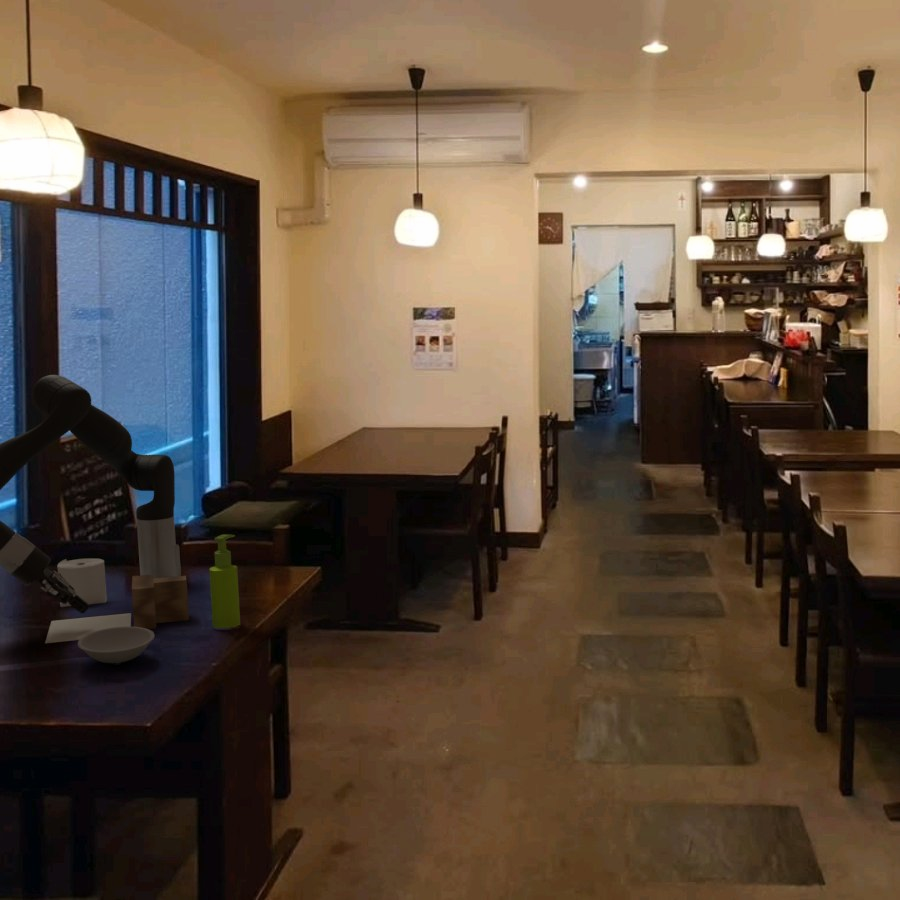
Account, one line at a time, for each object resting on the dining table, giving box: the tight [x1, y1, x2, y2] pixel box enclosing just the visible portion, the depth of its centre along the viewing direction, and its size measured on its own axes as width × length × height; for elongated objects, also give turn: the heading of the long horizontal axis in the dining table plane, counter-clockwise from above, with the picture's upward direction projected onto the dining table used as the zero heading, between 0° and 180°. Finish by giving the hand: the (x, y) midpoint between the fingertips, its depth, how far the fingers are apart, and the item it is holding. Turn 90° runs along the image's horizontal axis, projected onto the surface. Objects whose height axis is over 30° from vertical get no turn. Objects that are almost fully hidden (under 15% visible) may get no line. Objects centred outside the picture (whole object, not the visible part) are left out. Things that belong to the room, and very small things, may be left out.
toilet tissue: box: [57, 558, 108, 608], centre depth 259 cm, size 11×12×10 cm
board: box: [44, 612, 132, 644], centre depth 236 cm, size 30×18×1 cm, turn 106°
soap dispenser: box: [209, 534, 241, 628], centre depth 235 cm, size 6×7×20 cm
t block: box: [131, 574, 190, 630], centre depth 238 cm, size 12×13×9 cm
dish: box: [77, 625, 156, 664], centre depth 211 cm, size 18×14×5 cm
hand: (86, 609), depth 234 cm, fingers closed
